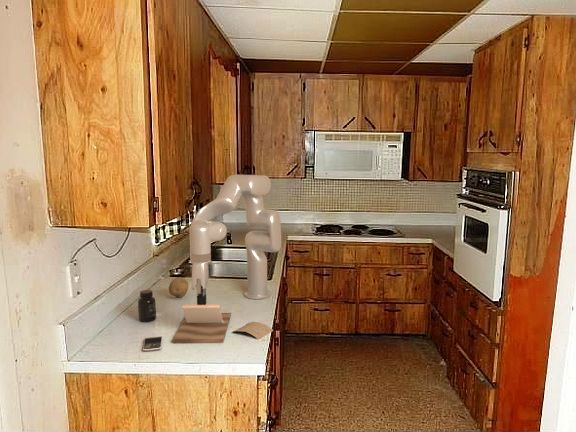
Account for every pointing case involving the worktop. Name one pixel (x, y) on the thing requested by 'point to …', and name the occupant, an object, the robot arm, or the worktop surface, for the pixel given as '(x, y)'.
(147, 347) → the cell phone
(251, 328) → the clay tablet
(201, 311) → the ceramic tile
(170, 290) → the natural sponge
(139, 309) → the supplement bottle
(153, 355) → the worktop surface
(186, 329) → the walnut board
